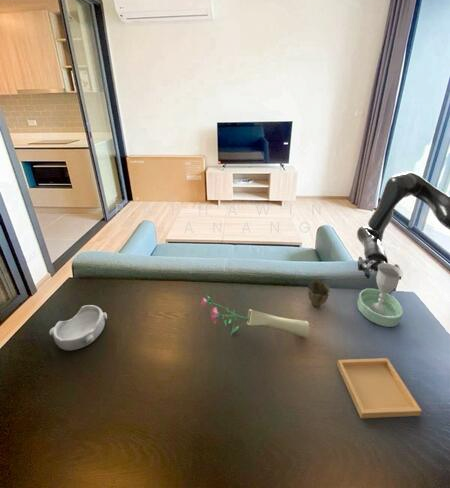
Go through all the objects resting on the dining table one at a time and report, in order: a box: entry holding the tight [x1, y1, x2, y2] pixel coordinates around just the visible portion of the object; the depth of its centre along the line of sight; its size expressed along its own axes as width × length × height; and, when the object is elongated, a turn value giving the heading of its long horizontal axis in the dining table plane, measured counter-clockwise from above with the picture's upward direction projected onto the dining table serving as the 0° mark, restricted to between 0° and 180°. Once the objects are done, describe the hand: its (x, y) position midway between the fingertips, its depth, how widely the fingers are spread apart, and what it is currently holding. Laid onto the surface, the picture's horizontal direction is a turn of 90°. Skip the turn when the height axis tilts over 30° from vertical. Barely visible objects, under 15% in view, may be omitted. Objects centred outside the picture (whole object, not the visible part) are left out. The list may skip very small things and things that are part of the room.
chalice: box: [370, 263, 404, 316], centre depth 85 cm, size 7×7×18 cm
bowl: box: [356, 287, 404, 328], centre depth 87 cm, size 13×13×4 cm
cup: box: [307, 279, 331, 308], centre depth 90 cm, size 8×7×8 cm
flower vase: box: [200, 292, 311, 339], centre depth 80 cm, size 12×12×35 cm
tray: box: [336, 357, 423, 419], centre depth 65 cm, size 15×13×2 cm
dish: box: [49, 304, 108, 351], centre depth 79 cm, size 14×14×5 cm
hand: (382, 280), depth 88 cm, fingers open, 8 cm apart
